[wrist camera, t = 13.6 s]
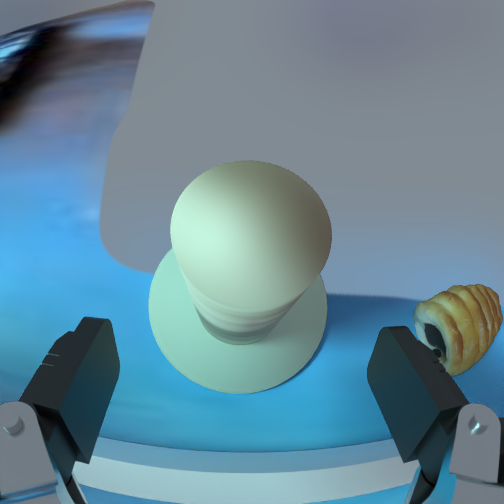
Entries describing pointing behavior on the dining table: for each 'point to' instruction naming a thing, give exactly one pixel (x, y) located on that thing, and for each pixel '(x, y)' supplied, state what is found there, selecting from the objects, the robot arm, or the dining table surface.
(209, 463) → the wall
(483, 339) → the pastry
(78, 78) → the dining table surface
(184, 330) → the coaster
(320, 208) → the dome-topped cylinder
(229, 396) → the dining table surface
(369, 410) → the dining table surface
